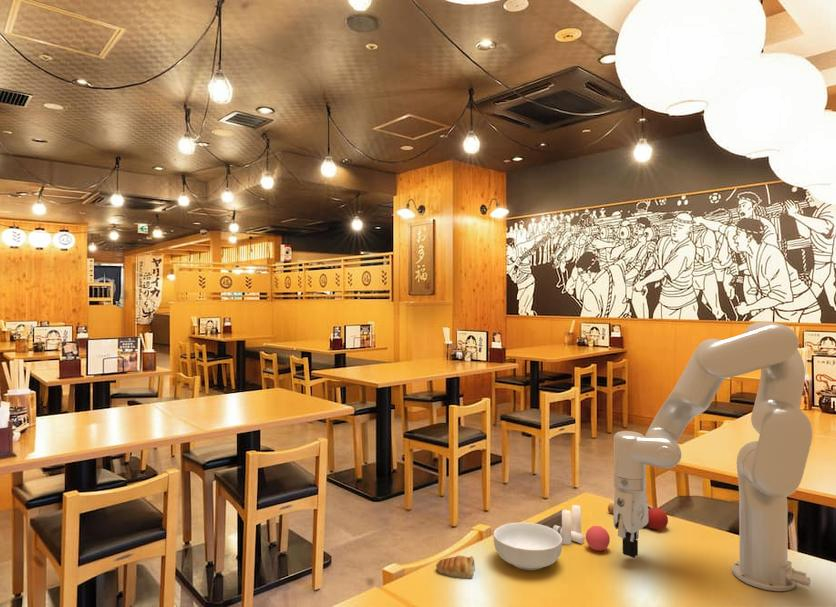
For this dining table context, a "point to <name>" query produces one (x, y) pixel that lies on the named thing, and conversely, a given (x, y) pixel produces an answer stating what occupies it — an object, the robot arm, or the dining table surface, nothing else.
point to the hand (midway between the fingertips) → (630, 554)
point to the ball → (597, 538)
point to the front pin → (574, 535)
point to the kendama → (651, 517)
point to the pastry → (457, 566)
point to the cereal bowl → (528, 545)
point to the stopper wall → (552, 520)
